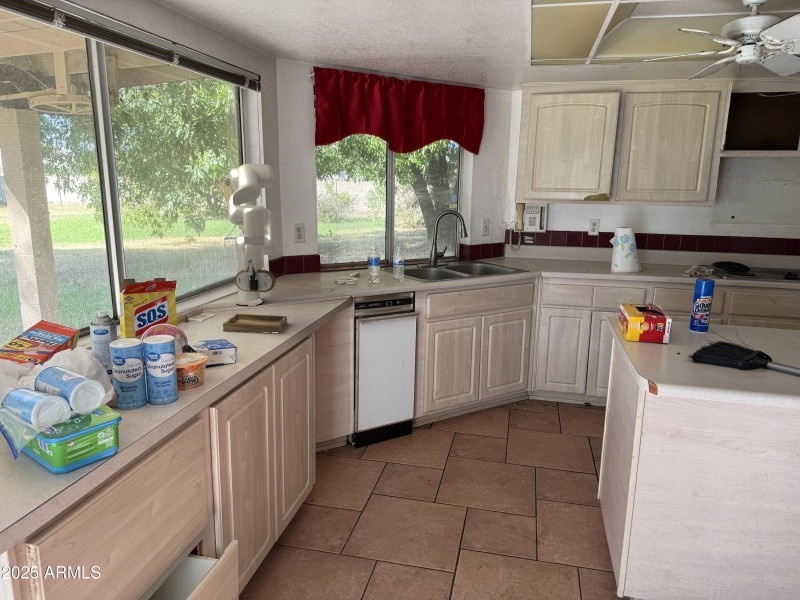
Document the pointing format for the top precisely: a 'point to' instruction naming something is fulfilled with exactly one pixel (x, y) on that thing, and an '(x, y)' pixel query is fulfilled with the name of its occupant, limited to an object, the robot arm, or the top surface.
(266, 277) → the tin
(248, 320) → the walnut tray
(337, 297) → the top surface
